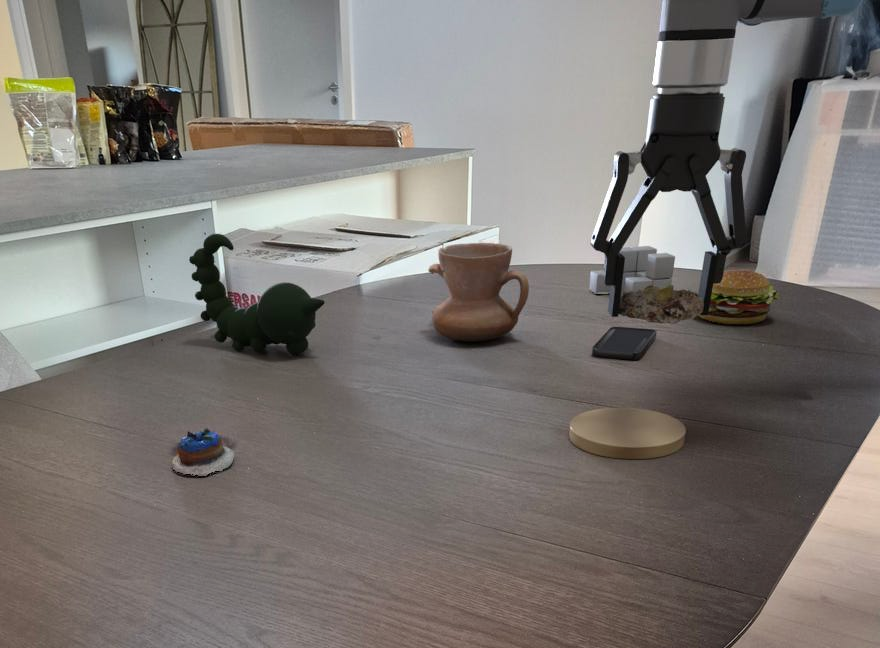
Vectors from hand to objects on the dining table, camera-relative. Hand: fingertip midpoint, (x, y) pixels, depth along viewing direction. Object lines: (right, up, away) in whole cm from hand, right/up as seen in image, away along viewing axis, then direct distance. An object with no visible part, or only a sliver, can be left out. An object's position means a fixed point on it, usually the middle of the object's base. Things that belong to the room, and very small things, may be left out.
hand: (657, 313), depth 101 cm
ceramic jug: (-18, +13, +46) cm, 51 cm away
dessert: (-55, -18, +1) cm, 58 cm away
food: (+30, +19, +52) cm, 62 cm away
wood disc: (-3, -14, +5) cm, 15 cm away
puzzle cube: (+15, +30, +69) cm, 76 cm away
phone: (+6, +9, +38) cm, 40 cm away
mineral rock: (0, 0, 0) cm, 0 cm away
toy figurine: (-54, +10, +43) cm, 69 cm away
